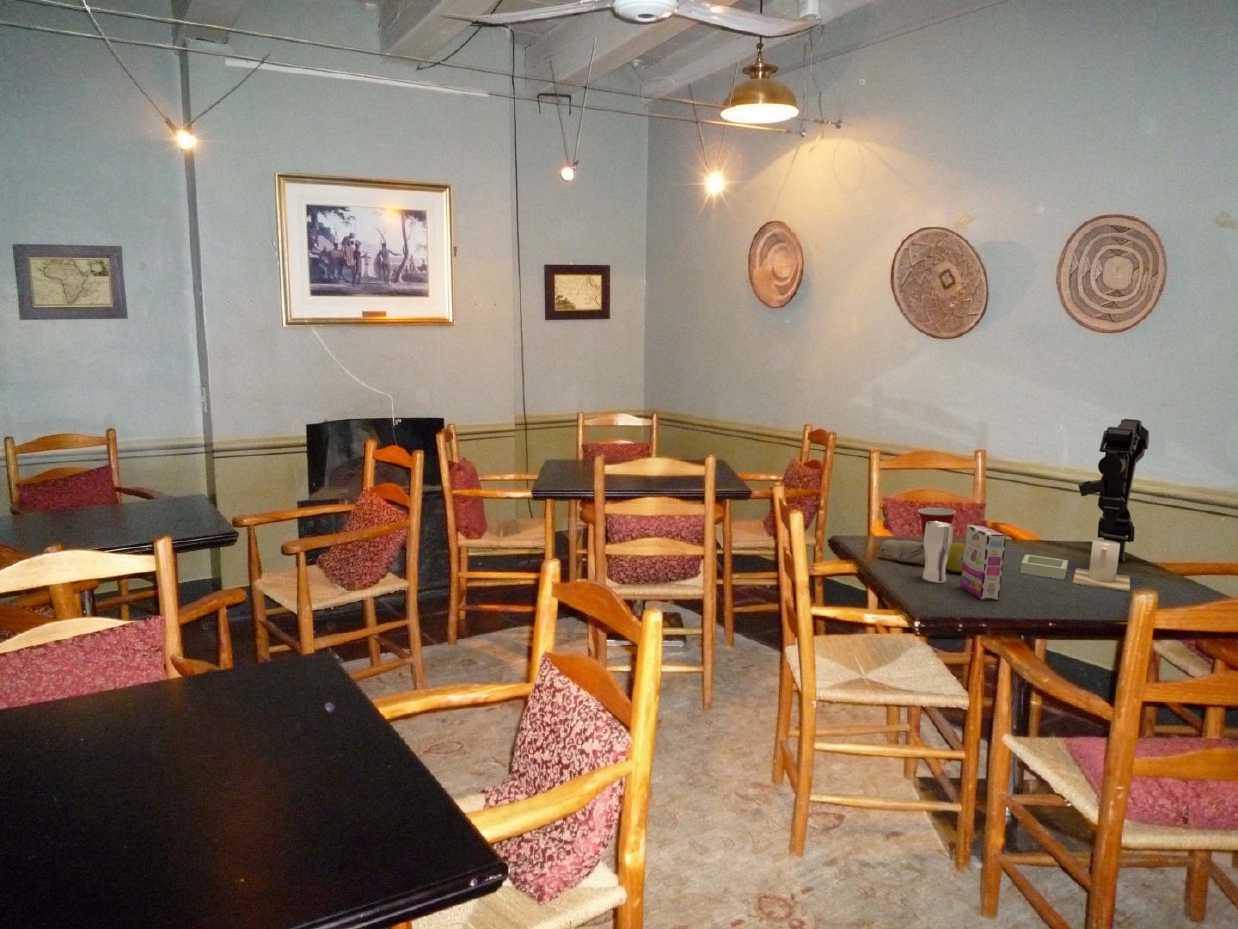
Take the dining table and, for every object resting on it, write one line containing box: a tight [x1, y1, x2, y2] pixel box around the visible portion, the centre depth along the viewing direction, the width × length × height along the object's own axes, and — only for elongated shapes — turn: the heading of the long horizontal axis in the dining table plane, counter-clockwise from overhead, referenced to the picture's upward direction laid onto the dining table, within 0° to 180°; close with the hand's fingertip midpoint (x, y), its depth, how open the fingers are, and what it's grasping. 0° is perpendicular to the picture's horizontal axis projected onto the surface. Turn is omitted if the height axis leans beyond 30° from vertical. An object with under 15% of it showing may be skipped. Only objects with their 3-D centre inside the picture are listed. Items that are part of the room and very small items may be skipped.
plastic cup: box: [917, 507, 957, 542], centre depth 260 cm, size 11×11×12 cm
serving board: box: [1072, 567, 1131, 593], centre depth 232 cm, size 16×13×1 cm
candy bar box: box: [960, 524, 1007, 601], centre depth 215 cm, size 11×5×16 cm, turn 5°
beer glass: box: [921, 521, 954, 584], centre depth 226 cm, size 7×7×15 cm
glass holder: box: [1020, 554, 1069, 581], centre depth 238 cm, size 11×11×3 cm
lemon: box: [946, 542, 965, 573], centre depth 235 cm, size 11×8×8 cm
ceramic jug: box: [1088, 538, 1120, 582], centre depth 230 cm, size 8×6×10 cm
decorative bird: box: [878, 539, 925, 564], centre depth 243 cm, size 5×16×8 cm, turn 55°
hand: (1108, 527), depth 242 cm, fingers open, 9 cm apart
